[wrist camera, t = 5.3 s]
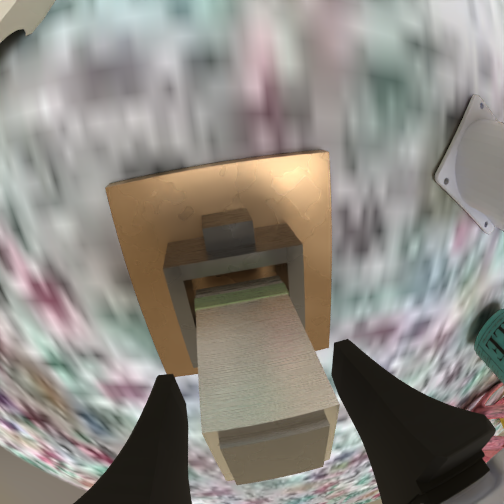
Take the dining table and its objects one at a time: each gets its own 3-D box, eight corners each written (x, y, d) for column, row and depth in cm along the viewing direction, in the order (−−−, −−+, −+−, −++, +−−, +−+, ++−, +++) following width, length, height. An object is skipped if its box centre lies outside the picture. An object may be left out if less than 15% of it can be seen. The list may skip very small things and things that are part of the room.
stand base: (110, 183, 16) (87, 204, 12) (322, 149, 17) (354, 161, 13) (168, 368, 22) (167, 409, 18) (324, 339, 23) (343, 375, 20)
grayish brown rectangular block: (194, 289, 15) (200, 443, 7) (279, 274, 15) (346, 412, 8) (210, 351, 16) (226, 490, 9) (284, 337, 17) (333, 467, 9)
